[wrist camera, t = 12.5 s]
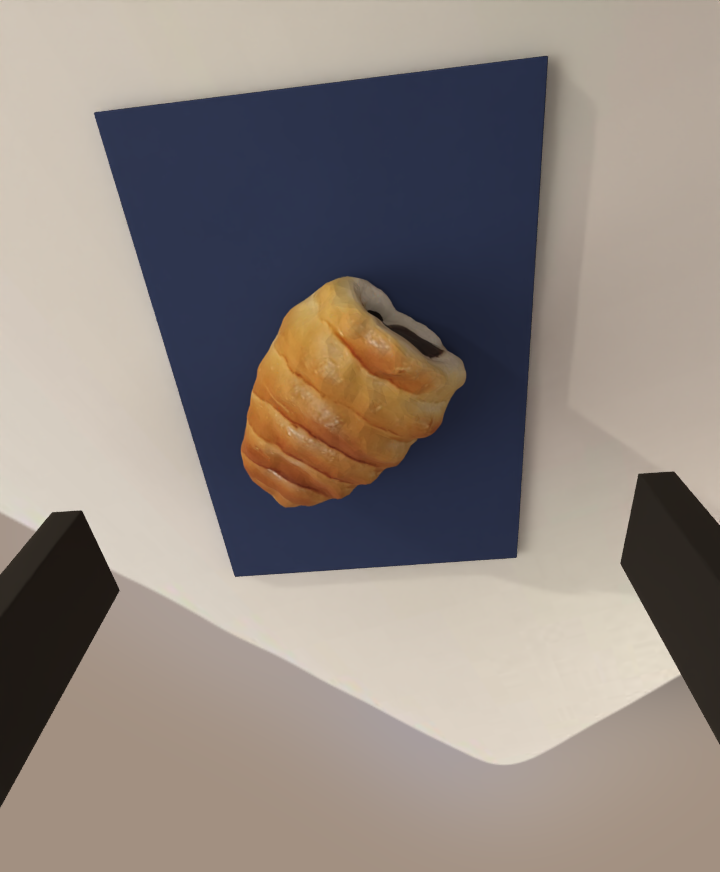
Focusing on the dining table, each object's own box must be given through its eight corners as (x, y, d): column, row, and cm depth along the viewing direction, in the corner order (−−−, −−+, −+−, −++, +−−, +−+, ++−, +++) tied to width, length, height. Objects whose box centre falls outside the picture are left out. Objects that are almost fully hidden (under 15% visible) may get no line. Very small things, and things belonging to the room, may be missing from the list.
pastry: (339, 509, 24) (334, 569, 21) (207, 435, 22) (178, 487, 19) (475, 352, 20) (495, 395, 17) (328, 246, 18) (319, 271, 15)
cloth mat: (544, 57, 16) (548, 55, 16) (515, 552, 26) (516, 558, 26) (98, 112, 17) (93, 112, 16) (236, 571, 27) (234, 577, 26)
